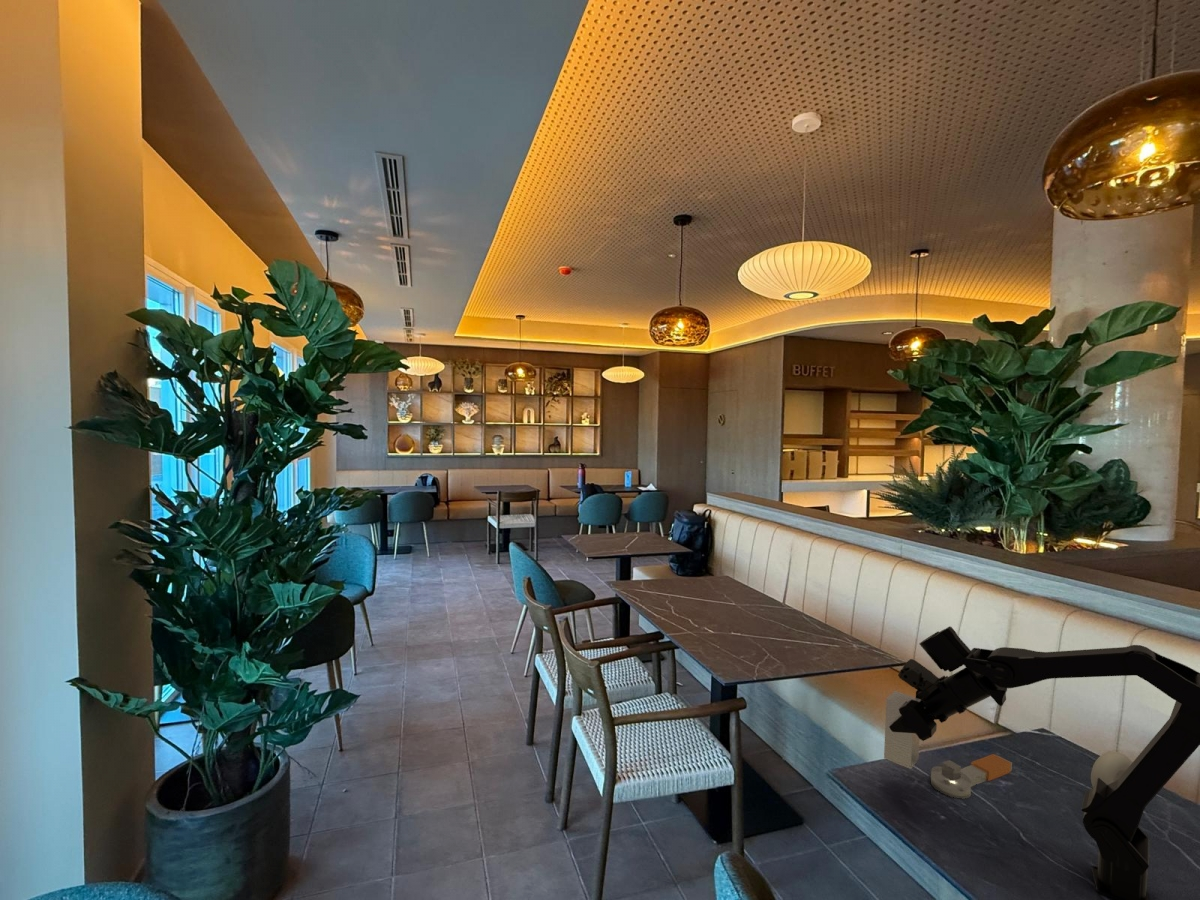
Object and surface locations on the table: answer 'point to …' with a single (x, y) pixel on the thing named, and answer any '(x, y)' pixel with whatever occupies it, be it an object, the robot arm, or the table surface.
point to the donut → (1110, 767)
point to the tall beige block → (899, 734)
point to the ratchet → (967, 775)
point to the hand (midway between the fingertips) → (895, 724)
